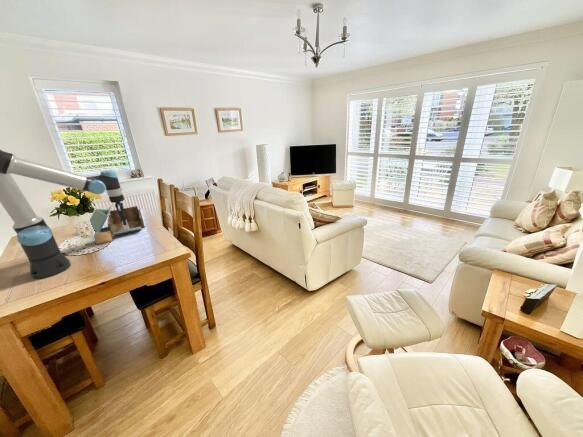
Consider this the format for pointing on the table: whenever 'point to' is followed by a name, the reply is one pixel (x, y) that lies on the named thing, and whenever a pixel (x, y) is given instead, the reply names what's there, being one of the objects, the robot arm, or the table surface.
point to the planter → (99, 218)
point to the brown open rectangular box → (132, 219)
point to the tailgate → (127, 231)
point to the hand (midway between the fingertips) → (126, 228)
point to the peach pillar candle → (103, 237)
